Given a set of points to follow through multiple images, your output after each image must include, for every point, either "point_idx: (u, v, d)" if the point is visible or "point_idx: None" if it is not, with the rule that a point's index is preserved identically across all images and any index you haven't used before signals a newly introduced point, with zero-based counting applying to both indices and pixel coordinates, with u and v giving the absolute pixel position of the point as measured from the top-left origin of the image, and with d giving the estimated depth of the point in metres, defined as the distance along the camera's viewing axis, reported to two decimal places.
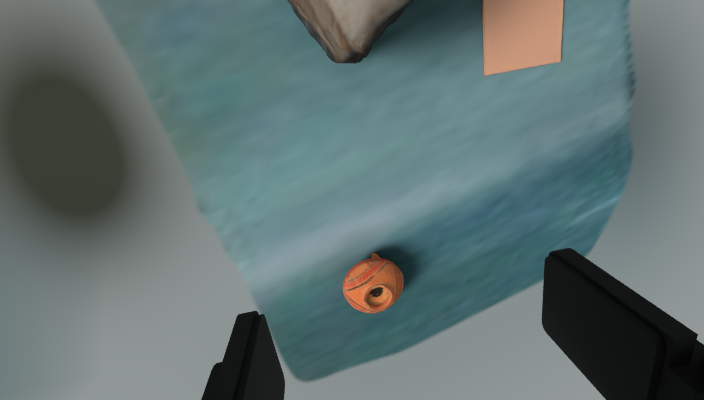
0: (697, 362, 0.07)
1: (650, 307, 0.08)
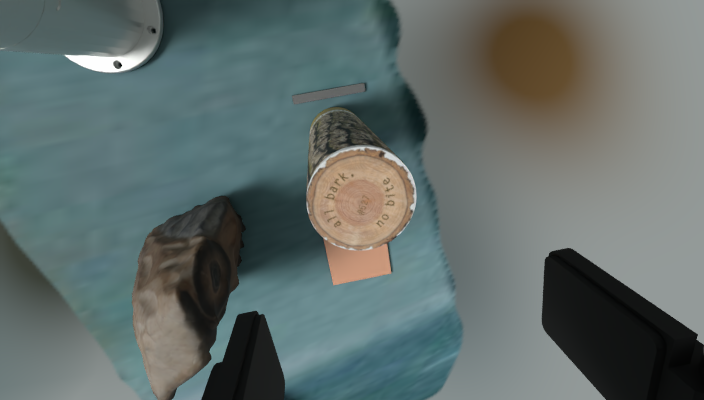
0: (697, 362, 0.07)
1: (650, 307, 0.08)
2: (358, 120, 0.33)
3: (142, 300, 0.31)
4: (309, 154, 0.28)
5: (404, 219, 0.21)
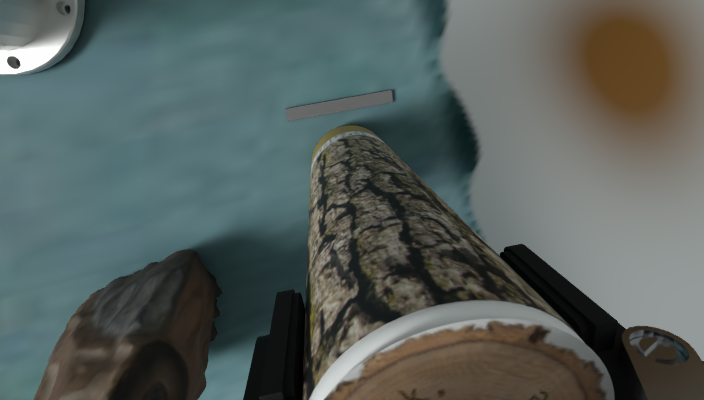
0: (620, 347, 0.08)
1: (581, 297, 0.08)
2: (394, 156, 0.19)
3: None
4: (310, 233, 0.14)
5: None
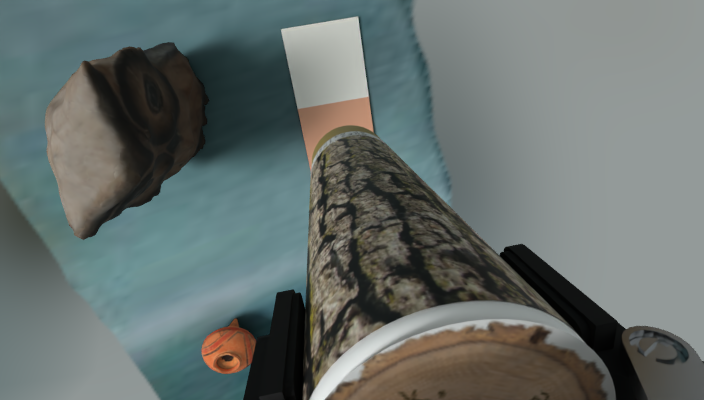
0: (620, 347, 0.08)
1: (581, 297, 0.08)
2: (394, 156, 0.19)
3: (53, 103, 0.25)
4: (310, 233, 0.14)
5: None
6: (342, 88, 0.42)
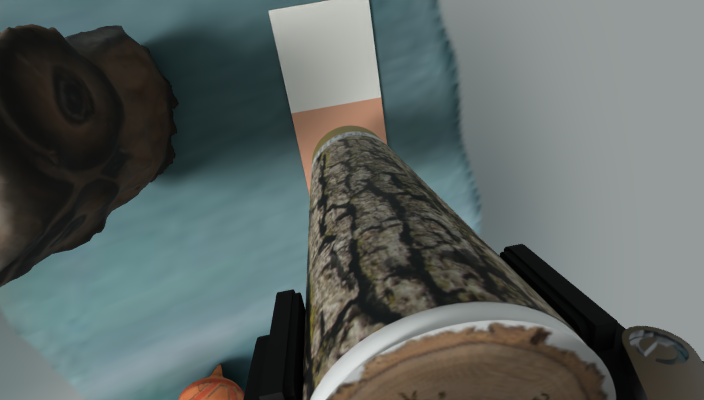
0: (620, 347, 0.08)
1: (582, 297, 0.08)
2: (394, 156, 0.19)
3: None
4: (310, 233, 0.14)
5: None
6: (348, 86, 0.33)
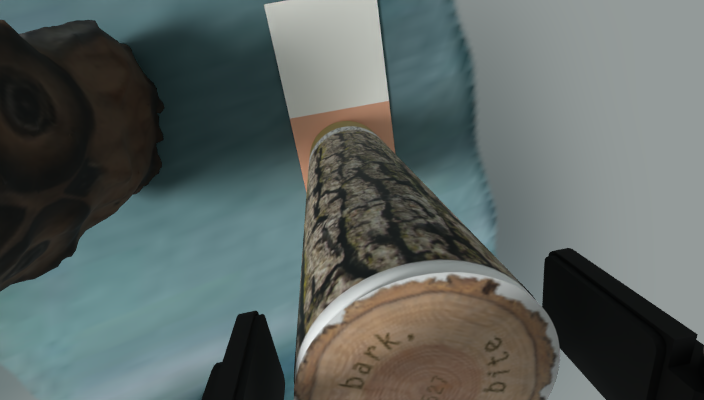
0: (697, 362, 0.07)
1: (650, 307, 0.08)
2: (386, 149, 0.20)
3: None
4: (306, 218, 0.16)
5: None
6: (353, 89, 0.30)
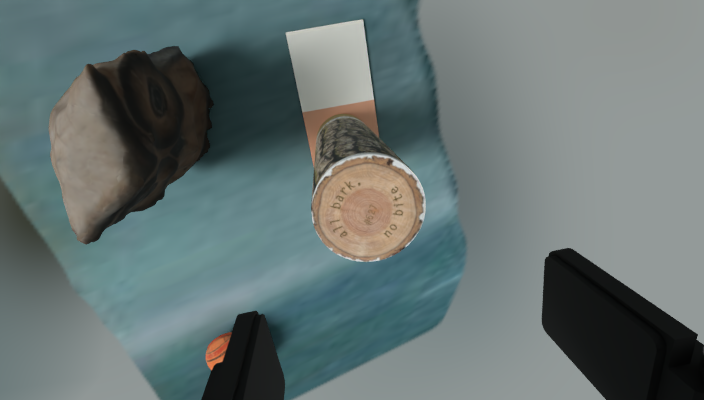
0: (697, 362, 0.07)
1: (650, 307, 0.08)
2: (365, 127, 0.32)
3: (57, 106, 0.24)
4: (315, 161, 0.27)
5: (413, 229, 0.21)
6: (347, 91, 0.41)
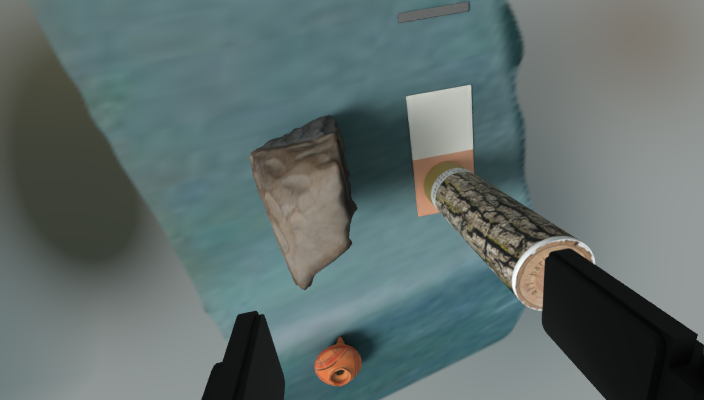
0: (697, 362, 0.07)
1: (650, 307, 0.08)
2: (493, 186, 0.39)
3: (286, 184, 0.32)
4: (472, 222, 0.35)
5: None
6: (452, 142, 0.49)
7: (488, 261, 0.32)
